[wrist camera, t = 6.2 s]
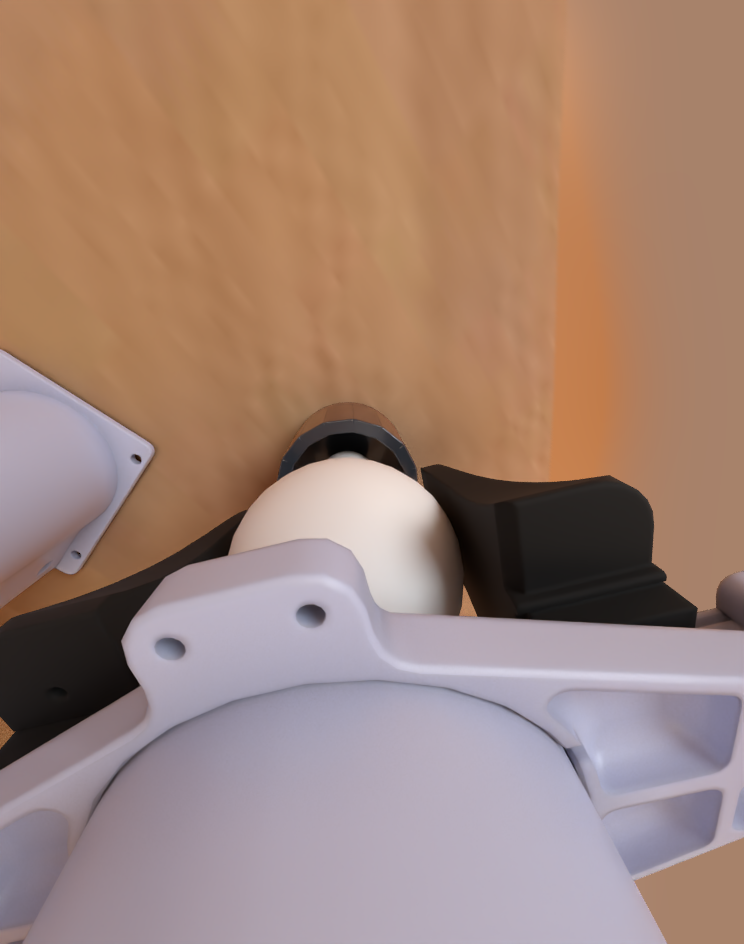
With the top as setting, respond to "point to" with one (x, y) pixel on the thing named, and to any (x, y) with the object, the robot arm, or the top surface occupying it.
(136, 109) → the top surface
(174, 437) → the top surface
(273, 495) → the lightbulb
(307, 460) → the cup
